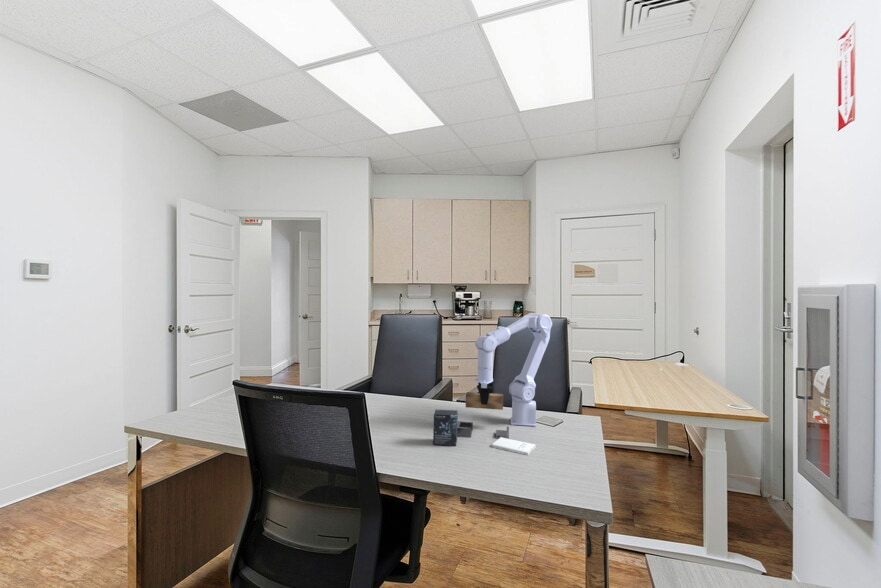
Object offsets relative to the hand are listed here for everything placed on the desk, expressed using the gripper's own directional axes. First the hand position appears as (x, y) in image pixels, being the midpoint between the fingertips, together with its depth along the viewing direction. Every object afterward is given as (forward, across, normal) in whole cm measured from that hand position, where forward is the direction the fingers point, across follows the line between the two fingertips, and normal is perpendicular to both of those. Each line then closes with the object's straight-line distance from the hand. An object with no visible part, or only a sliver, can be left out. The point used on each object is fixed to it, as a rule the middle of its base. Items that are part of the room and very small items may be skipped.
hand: (484, 402), depth 157 cm
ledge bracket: (+9, +8, +7) cm, 14 cm away
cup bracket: (+9, +8, -6) cm, 14 cm away
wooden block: (+2, 0, 0) cm, 2 cm away
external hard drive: (+10, +18, +11) cm, 23 cm away
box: (+10, +19, -12) cm, 24 cm away
